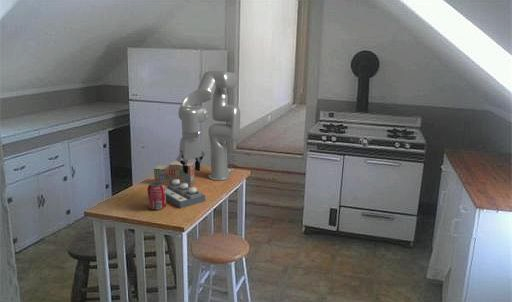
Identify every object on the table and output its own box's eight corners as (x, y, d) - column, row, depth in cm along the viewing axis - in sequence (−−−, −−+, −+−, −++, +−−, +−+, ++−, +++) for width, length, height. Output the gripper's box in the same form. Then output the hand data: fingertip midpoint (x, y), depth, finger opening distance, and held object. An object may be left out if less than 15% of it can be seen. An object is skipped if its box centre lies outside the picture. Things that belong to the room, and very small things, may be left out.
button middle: (185, 186, 202) (185, 182, 201) (189, 188, 199) (189, 184, 198) (178, 187, 199) (178, 184, 199) (182, 190, 196) (182, 186, 196)
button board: (181, 188, 212) (180, 180, 211) (205, 201, 195) (205, 192, 194) (157, 194, 203) (156, 186, 202) (180, 208, 186) (180, 199, 185)
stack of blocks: (154, 184, 219) (153, 163, 216) (159, 180, 225) (158, 160, 222) (191, 187, 214) (190, 165, 211) (195, 183, 220) (194, 162, 217)
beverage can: (159, 202, 192) (157, 179, 189) (169, 207, 188) (168, 183, 184) (145, 207, 186) (143, 183, 183) (155, 212, 182) (154, 187, 179)
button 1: (177, 182, 207) (177, 178, 207) (181, 184, 205) (181, 180, 204) (170, 183, 205) (170, 180, 204) (174, 185, 202) (174, 182, 201)
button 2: (193, 190, 196) (193, 186, 195) (198, 192, 193) (198, 188, 192) (186, 192, 193) (186, 188, 193) (191, 194, 190) (191, 190, 190)
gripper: (201, 131, 194) (202, 166, 199) (170, 136, 183) (171, 173, 188) (210, 133, 189) (211, 170, 193) (178, 139, 178) (180, 177, 182)
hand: (191, 171), depth 190 cm, fingers open, 5 cm apart
